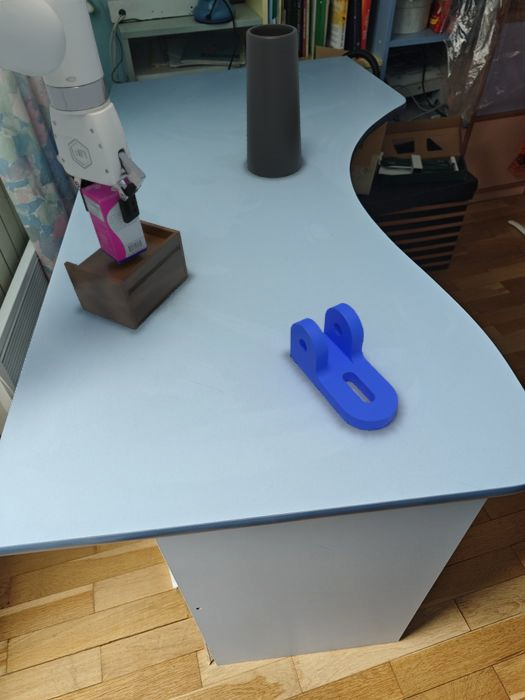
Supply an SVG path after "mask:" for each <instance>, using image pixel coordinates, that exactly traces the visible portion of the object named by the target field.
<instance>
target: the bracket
mask: <svg viewBox="0 0 525 700" xmlns="http://www.w3.org/2000/svg"><path fill="white" fill-rule="evenodd" d="M323 324H324V325H323V326H324V327H323V331H322V329H321V327H320V325H319V324H318V323H317V322H316V321H314V319H312V318H310V317H305V318H303V319H301V320H299V321H296V322H294V323H292V324H291V326H290V330H289V331H290V334H289V335H290V336H289V337H290V340H289V341H290V343H289V344H290V345H289V346H290V347H289V348H290V349H289V351H290V352H289V353H290V354H289V356H290V358H291V359H292V360H293V361H294V362H295V364H296V365H297V366H298V368H299V369H300V370H301V371H302V372H303V373H304V374H305V376H306V377H307V378H308V379H309V381H311V383H312V384H313V385H314V386H315V387H316V389H317V390H318V391H319V392H320V393H321V395H322V396H323V398H324V399H326V401H327V402H328V403H329V405H331V407H332V408H333V409H334V410H335V411H336V413H337V414H338V415H339V417H340V418H341V419H342V420H343V421H345V423H347V424H348V425H350V426H352V427H354V428H356V429H359V430H363V431H364V430H365V431H375V430H380V429H382V428H385V427H386V426H388V425H389V424H390V423H391V422H392V421H393V420H394V417H395V415H396V411H397V408H398V404H399V397H398V393H397V391H396V389H395V388H394V387H393V385H392V384H391V383H390V382H389V381H388V380H387V379H386V378H385V377H384V376H383V375H382V374H381V373H380V372H379V371H378V370H377V369H376V368H375V367H374V366H373V365H372V364H371V363H370V362H369V361H368V360H367V358H366V357H365V356H364V353H363V345H364V339H365V331H364V327H363V323H362V320H361V318H360V317H359V315H358V313H357V312H356V310H355V309H354V308H353V307H352V306H351V305H349V304H348V303H345V302H340V303H339V304H336V305H334V306H331V307H329V308H327V309H326V311H325V313H324V323H323ZM347 382H351V383H353V384H354V385H355V386H356V387H357V389H359V391H360V392H361V393H362V394H363V395H364V396H365V397H366V398H367V400H369V402H366V401H364V400H363V399H362V398H361V397H360V396H359V395H358V394H357V393H356V392H355V391H354V389H353V388H352V387H351V386H350V385H349V384H348V383H347Z"/></svg>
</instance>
